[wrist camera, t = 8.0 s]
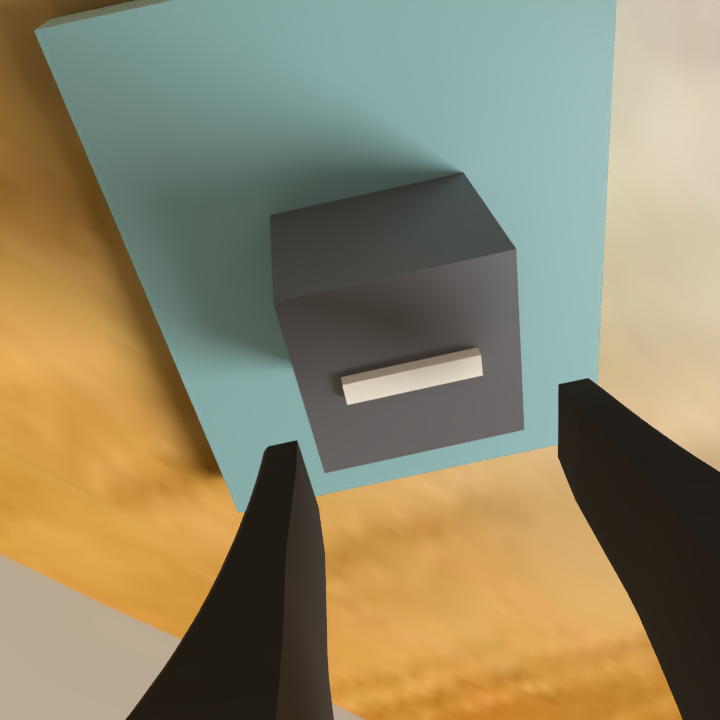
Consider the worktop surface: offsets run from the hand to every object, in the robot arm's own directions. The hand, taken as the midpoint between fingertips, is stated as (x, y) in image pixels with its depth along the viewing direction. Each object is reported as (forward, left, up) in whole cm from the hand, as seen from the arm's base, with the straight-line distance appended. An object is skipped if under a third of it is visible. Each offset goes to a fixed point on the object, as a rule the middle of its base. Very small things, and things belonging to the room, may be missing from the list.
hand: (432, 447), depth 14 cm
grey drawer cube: (0, 0, -7) cm, 7 cm away
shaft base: (0, 0, -8) cm, 8 cm away
